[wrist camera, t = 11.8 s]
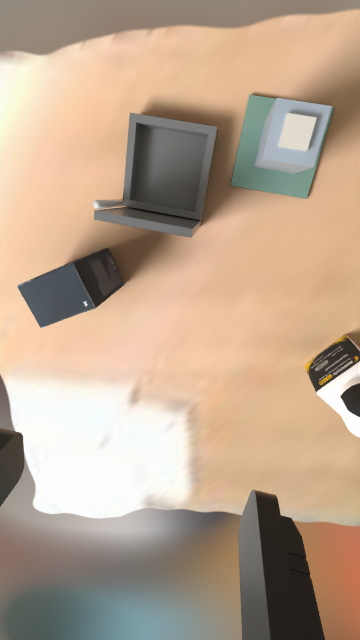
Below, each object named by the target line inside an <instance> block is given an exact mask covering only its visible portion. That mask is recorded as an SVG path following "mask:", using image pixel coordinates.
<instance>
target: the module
mask: <svg viewBox="0 0 360 640" xmlns="http://www.w3.org/2000/svg"><path fill="white" fill-rule="evenodd" d="M331 108H332V106H328V105H321V104H315V103H308V102H302V101H295V100H289V99H282V98H277V99H276V101H275V103H274V104H273V106H272V108H271V110H270V112H269V114H268V116H267V118H266V120H265V122H264V126H263V130H262V134H261V139H260V143H259V147H258V151H257V156H256V160H255V164H254V167H256V168H262V169H267V170H273V171H279V172H285V173H291V174H294V173H297V172H300V171H303V170H306V169H310V168H313V167H314V165H315V161H316V158H317V155H318V151H319V148H320V145H321V141H322V138H323V135H324V132H325V128H326V125H327V122H328V118H329V115H330V112H331Z"/></svg>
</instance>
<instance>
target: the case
mask: <svg viewBox="0 0 360 640" xmlns="http://www.w3.org/2000/svg"><path fill="white" fill-rule="evenodd" d="M217 132H218V130H217V127H216V126H209V125H203V124H197V123H191V122H185V121H179V120H172V119H166V118H160V117H154V116H148V115H142V114H135V113H130V118H129V131H128V143H127V156H126V168H125V180H124V193H123V199H119V200H96V201H94V202H93V206H94V208H96V209H101V208H110V207H119V206H127V207H122V208H113V209H105V210H96V211H95V212H94V219H95V220H100V221H105V222H111V223H116V224H121V225H127V226H132V227H137V228H143V229H148V230H153V231H159V232H164V233H169V234H175V235H180V236H185V237H192V236H193V235H194V234H195V233H196V231H197V230H198V229H199V228H200V226H201V219H202V215H203V209H204V204H205V198H206V193H207V187H208V182H209V176H210V171H211V165H212V160H213V154H214V149H215V143H216V138H217Z"/></svg>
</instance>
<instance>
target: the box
mask: <svg viewBox="0 0 360 640" xmlns="http://www.w3.org/2000/svg"><path fill="white" fill-rule="evenodd" d="M123 285H124V281H123V279H122V277H121V275H120V273H119V270H118V268H117V266H116V264H115V261H114V259H113V257H112V255H111V253H110V250H109V249H108V248H106V249H103V250H101V251H98V252H96V253H93V254H91V255H88V256H86V257H84V258H81V259H79V260H76V261H73V262H71V263H69V264H66V265H64V266H61V267H59V268H57V269H54V270H52V271H50V272H47V273H45V274H42V275H40V276H38V277H36V278H33V279H31V280H29V281H26V282H24V283H22V284H20V285H18V286H17V287H18V289H19V290H20V292H21V294H22V296H23V298H24V299H25V301H26V303H27V305H28V306H29V308H30V310H31V312H32V313H33V315H34V317H35V319H36V320H37V322H38V324H39V326H40V327H41V328H44V327H46V326H48V325H51V324H53V323H56V322H59V321H61V320H64V319H66V318H69V317H72V316H75V315H78V314H81V313H84V312H87V311H89V310H93V309H95V308H96V307H98V306H99V305H100V304H101V303H103V302H104V301H105V300H106V299H107V298H109V297H110V296H111V295H112V294H114V293H115V292H116V291H117V290H118V289H120V288H121V287H122V286H123Z"/></svg>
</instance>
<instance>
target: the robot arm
mask: <svg viewBox="0 0 360 640" xmlns="http://www.w3.org/2000/svg"><path fill="white" fill-rule="evenodd" d="M23 469H24V448H23V435H22V434H21V433H19V432H14V431H10V430H6V429H2V428H0V506H1V505H2V504H3V502H4V501H5V499H6V498H7V497H8V495H9V494H10V492H11V491H12V489H13V488H14V487H15V485H16V484H17V483H18V481H19V479H20V477H21V475H22V472H23ZM238 542H239V566H240V592H241V617H242V640H325V638H324V633H323V629H322V624H321V620H320V616H319V611H318V607H317V602H316V598H315V594H314V589H313V585H312V580H311V578H310V571H309V567H308V563H307V561H306V554H305V549H304V544H303V540H302V536H301V535H300V533H299V531H298V529H297V527H296V526H295V524H294V522H293V520H292V518H289V517H285V516H281V515H280V510H279V504H278V499H277V497H276V495H273V494H269V493H265V492H261V491H256V490H252V491H251V493H250V496H249V498H248V501H247V504H246V506H245V509H244V512H243V514H242V517H241V521H240V526H239V537H238Z"/></svg>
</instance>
